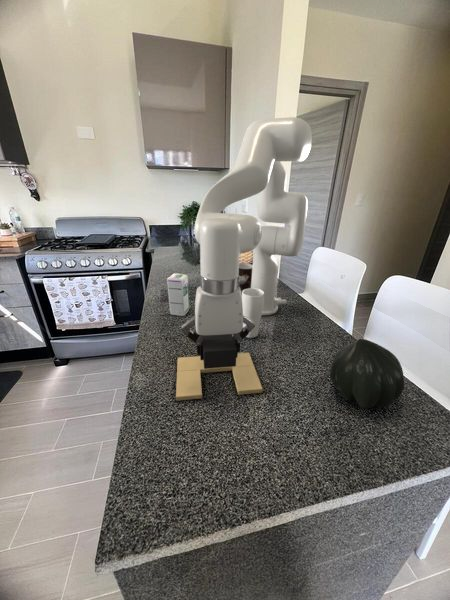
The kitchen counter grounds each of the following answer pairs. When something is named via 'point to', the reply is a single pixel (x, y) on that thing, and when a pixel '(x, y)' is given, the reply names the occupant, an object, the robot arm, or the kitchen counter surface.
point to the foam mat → (194, 366)
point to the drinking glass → (253, 308)
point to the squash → (367, 374)
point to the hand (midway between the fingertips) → (218, 354)
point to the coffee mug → (245, 274)
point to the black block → (219, 351)
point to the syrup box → (178, 294)
